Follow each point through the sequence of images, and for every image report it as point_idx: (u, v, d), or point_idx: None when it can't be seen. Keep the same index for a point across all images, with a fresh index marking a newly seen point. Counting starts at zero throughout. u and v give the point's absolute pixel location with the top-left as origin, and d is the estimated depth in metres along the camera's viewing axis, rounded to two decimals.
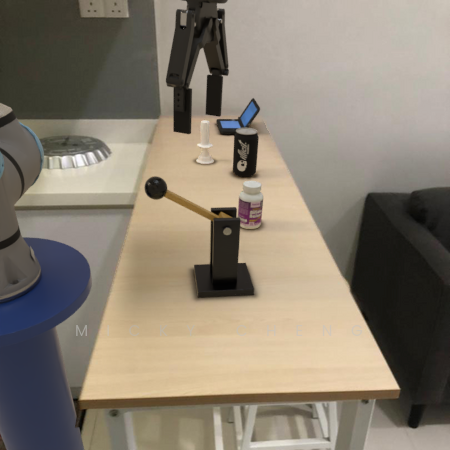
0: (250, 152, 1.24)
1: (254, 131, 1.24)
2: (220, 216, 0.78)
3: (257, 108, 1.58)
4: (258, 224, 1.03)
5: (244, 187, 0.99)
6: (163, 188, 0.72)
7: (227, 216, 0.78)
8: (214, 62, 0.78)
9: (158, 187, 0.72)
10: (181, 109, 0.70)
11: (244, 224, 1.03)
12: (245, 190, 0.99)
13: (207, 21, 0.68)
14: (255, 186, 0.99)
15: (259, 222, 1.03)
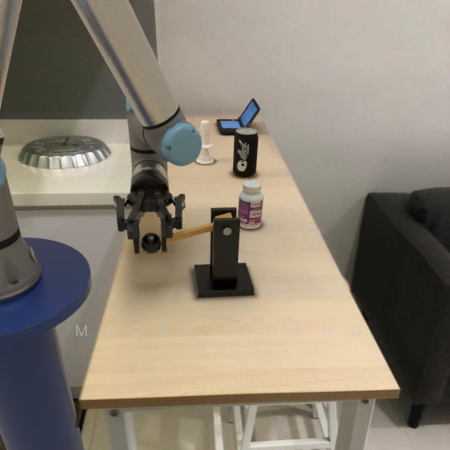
0: (250, 152, 1.24)
1: (254, 131, 1.24)
2: None
3: (257, 108, 1.58)
4: (258, 224, 1.03)
5: (244, 187, 0.99)
6: (154, 240, 0.77)
7: (222, 216, 0.78)
8: None
9: (149, 243, 0.77)
10: (172, 235, 0.77)
11: (244, 224, 1.03)
12: (245, 190, 0.99)
13: None
14: (255, 186, 0.99)
15: (259, 222, 1.03)
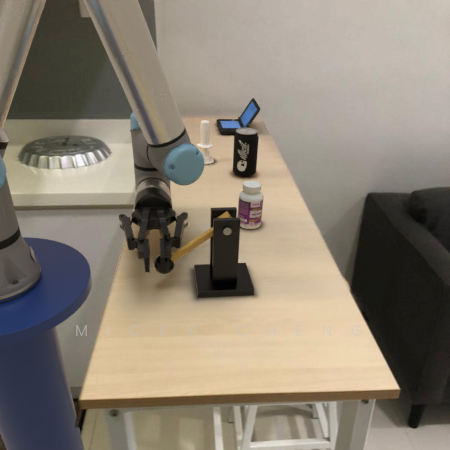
0: (250, 152, 1.24)
1: (254, 131, 1.24)
2: None
3: (257, 108, 1.58)
4: (258, 224, 1.03)
5: (244, 187, 0.99)
6: None
7: (220, 217, 0.78)
8: (146, 238, 0.83)
9: None
10: (171, 255, 0.79)
11: (244, 224, 1.03)
12: (245, 190, 0.99)
13: None
14: (255, 186, 0.99)
15: (259, 222, 1.03)
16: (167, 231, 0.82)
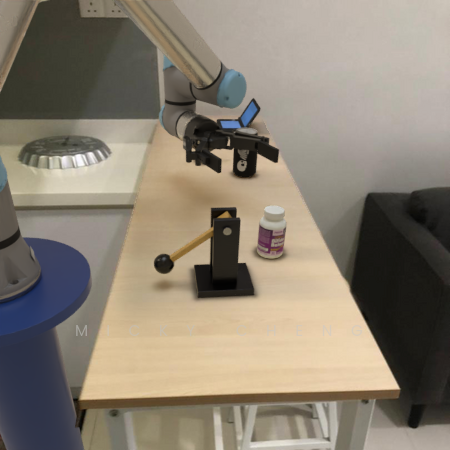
0: (250, 152, 1.24)
1: (254, 131, 1.24)
2: None
3: (257, 108, 1.58)
4: (281, 253, 0.93)
5: (266, 213, 0.89)
6: (164, 261, 0.80)
7: (220, 217, 0.78)
8: None
9: (161, 265, 0.80)
10: None
11: (264, 253, 0.92)
12: (267, 216, 0.89)
13: None
14: (278, 212, 0.88)
15: (281, 251, 0.93)
16: (253, 138, 1.01)
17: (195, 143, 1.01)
